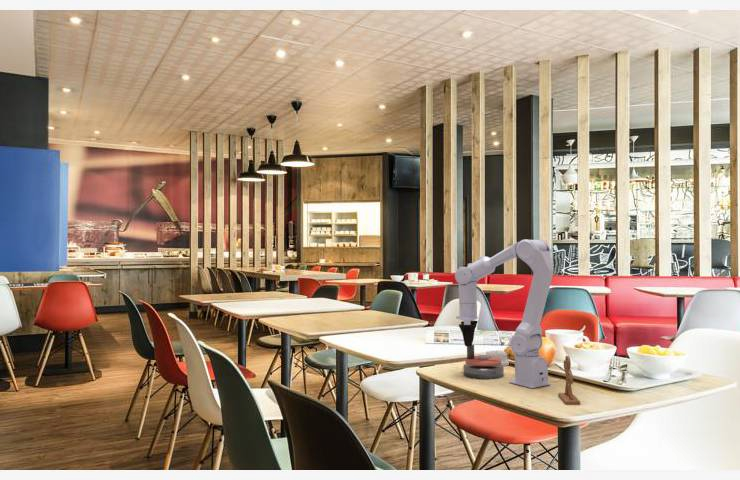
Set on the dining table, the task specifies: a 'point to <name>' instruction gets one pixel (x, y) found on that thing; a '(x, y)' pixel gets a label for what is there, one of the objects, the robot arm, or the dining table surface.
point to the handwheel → (480, 359)
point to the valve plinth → (483, 371)
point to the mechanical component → (499, 356)
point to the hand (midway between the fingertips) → (469, 344)
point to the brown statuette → (568, 396)
